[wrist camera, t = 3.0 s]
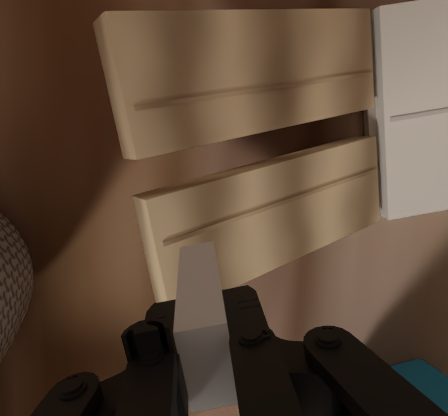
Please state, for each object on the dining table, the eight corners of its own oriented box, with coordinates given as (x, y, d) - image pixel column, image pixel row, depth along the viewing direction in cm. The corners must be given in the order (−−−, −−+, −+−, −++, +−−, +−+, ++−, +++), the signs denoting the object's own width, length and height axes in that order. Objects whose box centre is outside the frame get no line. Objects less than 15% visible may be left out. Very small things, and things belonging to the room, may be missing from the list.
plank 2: (156, 303, 22) (171, 317, 20) (131, 195, 20) (146, 200, 18) (358, 216, 31) (381, 220, 29) (353, 136, 29) (377, 135, 27)
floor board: (368, 214, 31) (381, 221, 29) (357, 14, 27) (371, 6, 25) (492, 192, 31) (513, 198, 29) (499, -7, 27) (523, -17, 25)
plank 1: (123, 158, 20) (137, 160, 18) (92, 23, 18) (105, 10, 16) (351, 109, 29) (375, 107, 27) (345, 16, 27) (371, 7, 25)
